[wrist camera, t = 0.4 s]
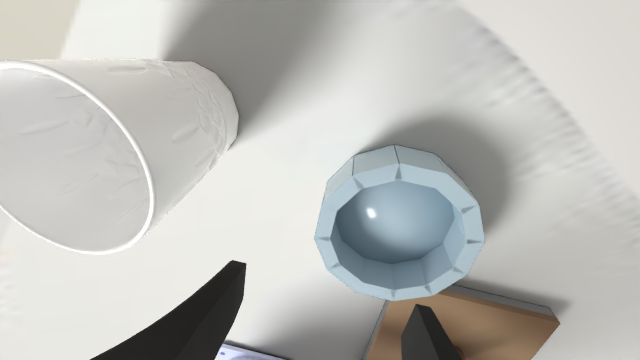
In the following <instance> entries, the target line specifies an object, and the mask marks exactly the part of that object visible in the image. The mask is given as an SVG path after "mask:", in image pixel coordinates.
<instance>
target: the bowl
mask: <svg viewBox="0 0 640 360" xmlns="http://www.w3.org/2000/svg"><path fill="white" fill-rule="evenodd" d="M314 239H315V242H316V244H317V247H318V249H319V252H320V254H321V256H322V259H323V261H324V264H325V266H326V268H327V269H328V271H329V272H330V273H332V274H333V275H334V276H336V277H337V278H338V279H339V280H341V281H342V282H343V283H345V284H346V285H347V286H349V287H350V288H351V289H352V290H354V291H356V292H358V293H362V294H366V295H370V296H374V297H378V298H382V299H386V300H390V301H393V300H394V301H399V300H406V299H413V298H420V297H427V296H432V295H435V294H437V293H438V292H440V291H442V290H443V289H445V288H446V287H448V286H450V285H451V284H453V283H455V282H456V281H458V280H460V279H461V278H463V277H464V276H466V274H468V272H469V270H470V268H471V266H472V265H473V263H474V261H475V259H476V257H477V256H478V254H479V252H480V250H481V248H482V246H483V245H484V243H485V239H484V233H483V226H482V220H481V213H480V207H479V203H478V202H477V201H476V199H475V198H474V196H473V195H472V193H471V192H470V191H469V189H468V188H467V186H466V185H465V183H464V182H463V181H462V179H461V178H460V177H459V176H457V175H456V174H455V173H454V172H453V171H452V170H451V169H450V168H449V167H448V166H447V165H446V164H445V163H444V162H443V161H442V160H441V159H440V158H439V157H438V156H437V155H436V154H434V153H429V152H425V151H421V150H416V149H412V148H407V147H403V146H398V145H390V146H387V147H383V148H379V149H376V150H372V151H368V152H365V153H361V154H357V155H355V156H353V157H352V158H351V159H350V160H349V161H348V162H347V163H346V164H345V165H344V166H343V167H342V168H341V169H340V170H339V171H338V172H337V173H336V174H335V175H333V176H332V177H331V178H330V179H329V180H328V182H327V186H326V190H325V194H324V197H323V201H322V205H321V210H320V214H319V219H318V223H317V228H316V232H315V236H314Z"/></svg>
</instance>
